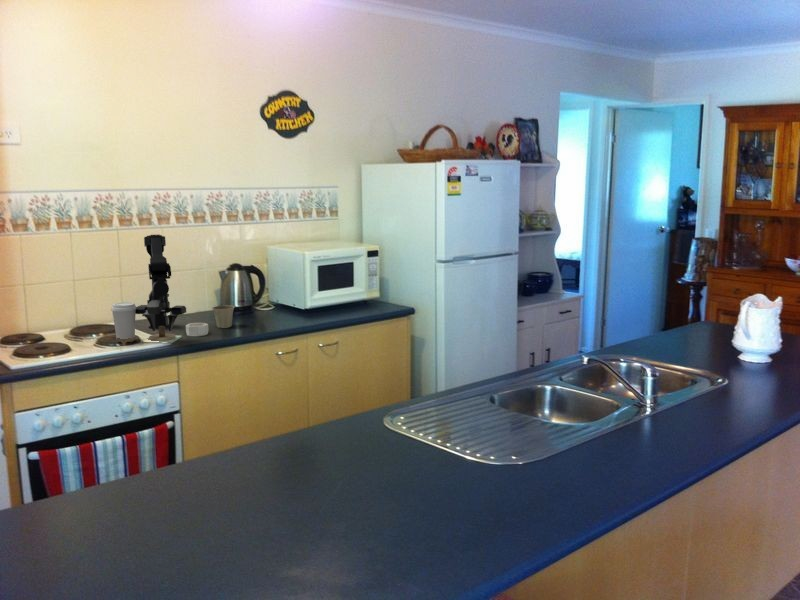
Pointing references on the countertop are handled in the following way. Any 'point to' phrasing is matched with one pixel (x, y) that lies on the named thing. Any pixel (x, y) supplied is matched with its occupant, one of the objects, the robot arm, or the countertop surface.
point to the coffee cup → (124, 319)
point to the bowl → (197, 329)
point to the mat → (171, 340)
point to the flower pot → (223, 316)
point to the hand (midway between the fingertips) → (162, 331)
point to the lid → (162, 335)
